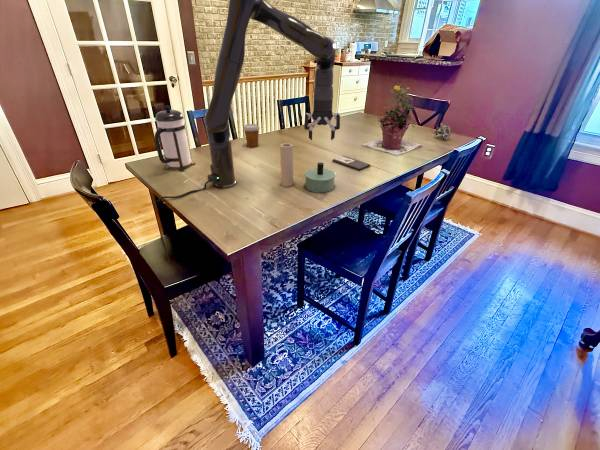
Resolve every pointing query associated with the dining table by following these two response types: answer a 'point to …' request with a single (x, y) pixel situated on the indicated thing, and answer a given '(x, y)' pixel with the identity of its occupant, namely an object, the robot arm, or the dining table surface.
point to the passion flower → (443, 131)
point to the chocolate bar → (351, 163)
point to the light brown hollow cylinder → (286, 164)
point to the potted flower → (395, 126)
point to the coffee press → (172, 139)
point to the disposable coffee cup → (251, 134)
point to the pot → (319, 185)
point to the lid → (320, 173)
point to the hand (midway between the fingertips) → (321, 139)
